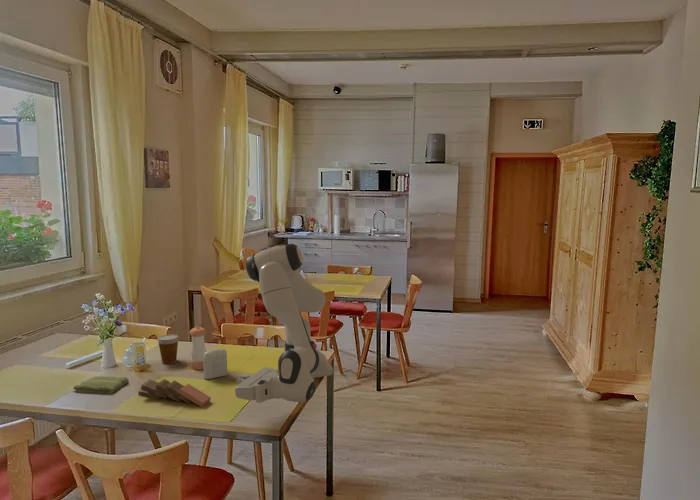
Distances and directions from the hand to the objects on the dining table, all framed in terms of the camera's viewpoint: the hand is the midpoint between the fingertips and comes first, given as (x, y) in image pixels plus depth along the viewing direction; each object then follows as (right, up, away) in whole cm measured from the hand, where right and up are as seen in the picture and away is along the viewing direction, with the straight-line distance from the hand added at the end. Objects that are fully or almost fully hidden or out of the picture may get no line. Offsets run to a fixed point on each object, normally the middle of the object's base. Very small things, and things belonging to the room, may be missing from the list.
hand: (239, 379), depth 181 cm
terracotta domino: (-14, -10, +6) cm, 19 cm away
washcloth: (-62, -10, +23) cm, 67 cm away
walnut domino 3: (-24, -10, +10) cm, 28 cm away
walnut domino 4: (-20, -10, +9) cm, 24 cm away
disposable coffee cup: (-45, -6, +52) cm, 69 cm away
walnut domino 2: (-32, -10, +14) cm, 37 cm away
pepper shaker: (-29, -6, +46) cm, 54 cm away
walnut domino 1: (-30, -9, +13) cm, 34 cm away
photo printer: (-18, -8, +34) cm, 39 cm away
